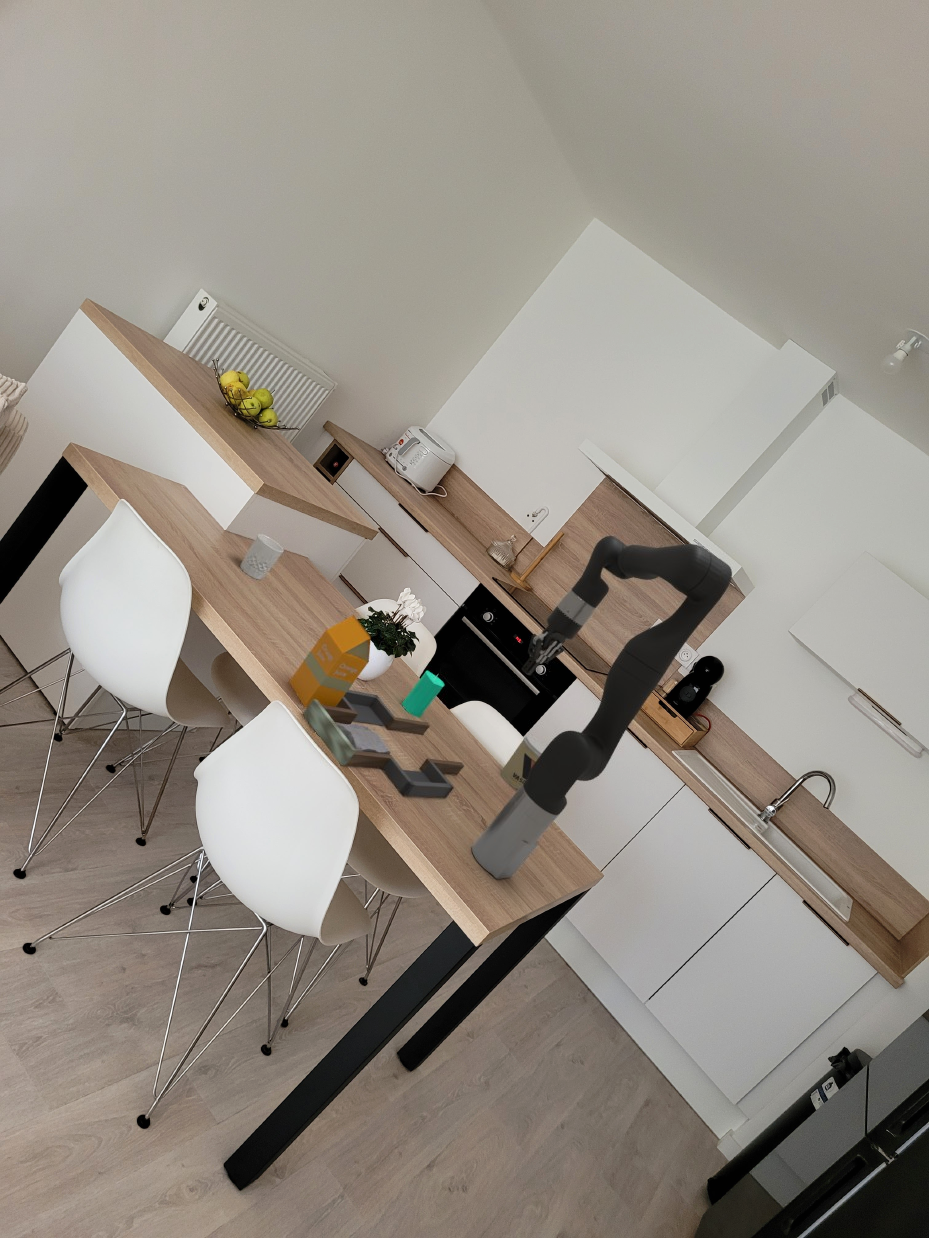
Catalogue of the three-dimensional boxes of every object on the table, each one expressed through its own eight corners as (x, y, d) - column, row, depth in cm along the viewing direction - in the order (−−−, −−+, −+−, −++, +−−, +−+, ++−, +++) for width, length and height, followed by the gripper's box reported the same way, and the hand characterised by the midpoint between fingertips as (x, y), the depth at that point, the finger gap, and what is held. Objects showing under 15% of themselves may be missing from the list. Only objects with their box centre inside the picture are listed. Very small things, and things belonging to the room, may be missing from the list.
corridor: (457, 775, 194) (467, 762, 193) (340, 765, 161) (352, 750, 160) (420, 731, 202) (429, 719, 202) (302, 713, 169) (313, 699, 168)
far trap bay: (387, 726, 192) (395, 717, 191) (344, 720, 180) (351, 709, 179) (369, 704, 196) (376, 695, 196) (325, 696, 184) (333, 686, 183)
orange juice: (304, 706, 173) (357, 632, 168) (288, 681, 178) (339, 609, 174) (331, 713, 178) (384, 642, 174) (315, 688, 184) (366, 619, 180)
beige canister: (503, 783, 209) (532, 748, 206) (494, 763, 217) (522, 729, 215) (531, 798, 213) (559, 763, 210) (521, 777, 221) (548, 744, 219)
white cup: (232, 563, 219) (252, 533, 217) (247, 563, 226) (266, 534, 224) (254, 581, 217) (275, 551, 215) (268, 580, 225) (288, 551, 223)
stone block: (320, 738, 170) (352, 763, 165) (331, 718, 169) (364, 743, 164) (355, 742, 180) (386, 766, 175) (365, 723, 180) (397, 746, 174)
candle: (398, 702, 210) (425, 666, 207) (408, 701, 215) (435, 666, 213) (414, 718, 208) (442, 681, 205) (424, 716, 213) (451, 681, 211)
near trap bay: (446, 797, 179) (454, 787, 179) (403, 795, 167) (411, 785, 166) (425, 772, 184) (433, 762, 183) (381, 768, 171) (390, 758, 170)
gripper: (569, 618, 181) (521, 678, 184) (594, 629, 192) (548, 686, 195) (547, 598, 185) (500, 657, 188) (572, 610, 196) (528, 666, 199)
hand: (525, 672), depth 192 cm, fingers closed
